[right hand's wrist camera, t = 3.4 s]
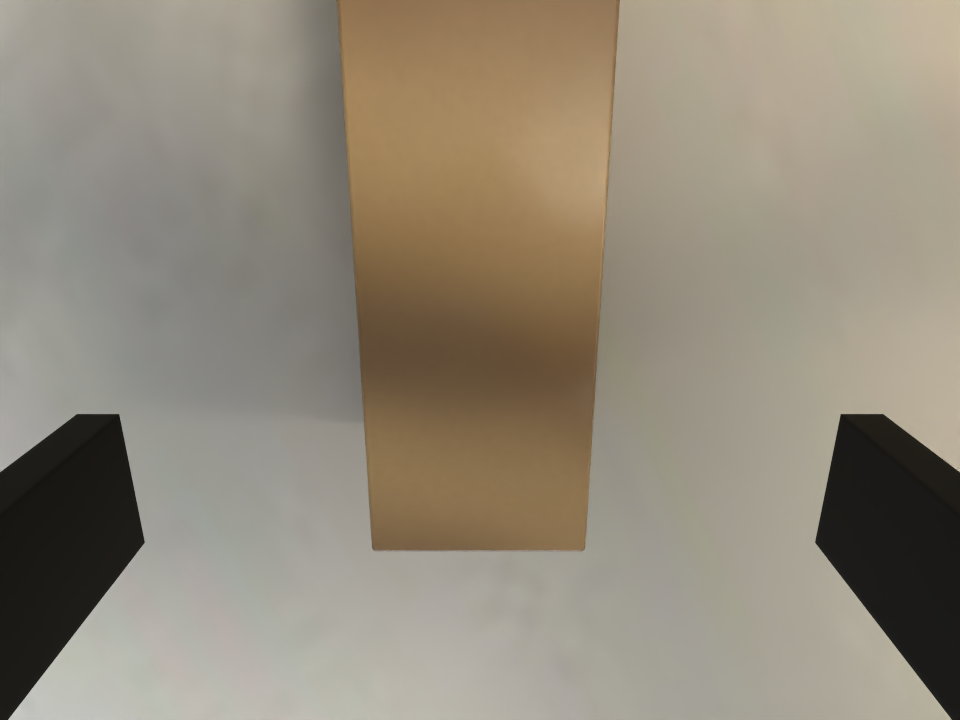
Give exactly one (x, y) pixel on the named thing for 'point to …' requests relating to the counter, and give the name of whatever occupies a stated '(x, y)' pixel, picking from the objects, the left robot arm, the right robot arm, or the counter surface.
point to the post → (478, 262)
